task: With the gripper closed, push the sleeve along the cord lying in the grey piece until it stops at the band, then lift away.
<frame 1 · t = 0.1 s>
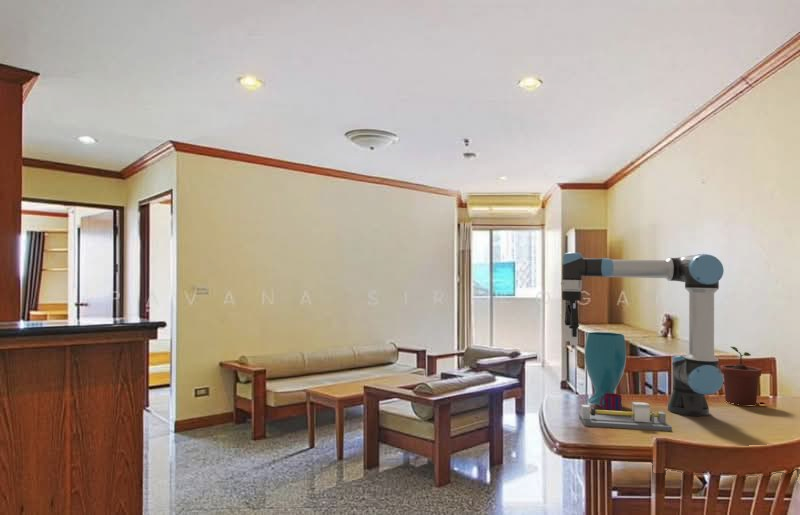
hand: (571, 343, 220), 28 cm above the table, fingers open, 13 cm apart
mug: (609, 412, 222), on the table
grey piece: (623, 424, 203), on the table
sleeve: (640, 411, 202), point 5 cm above the table, slide at 0.0 cm
potted plant: (743, 403, 245), on the table
vase: (604, 402, 239), on the table
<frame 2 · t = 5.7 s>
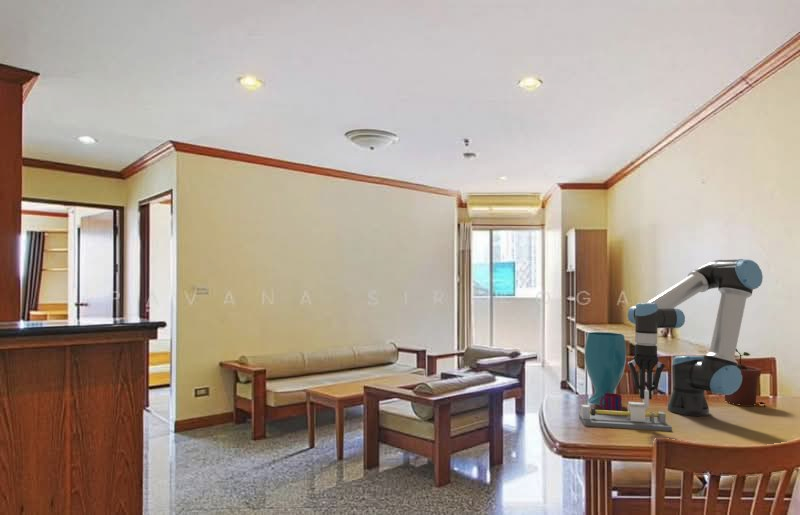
hand: (645, 407, 202), 7 cm above the table, fingers closed
sleeve: (636, 411, 203), point 5 cm above the table, slide at 1.5 cm, touching gripper
everything else where it was.
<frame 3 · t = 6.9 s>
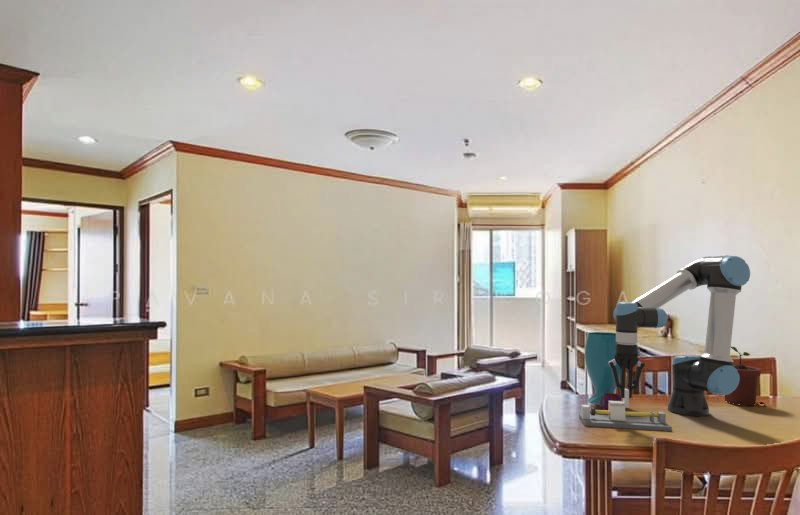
hand: (625, 406, 203), 7 cm above the table, fingers closed
sleeve: (616, 410, 204), point 5 cm above the table, slide at 8.5 cm, touching gripper
everything else where it was.
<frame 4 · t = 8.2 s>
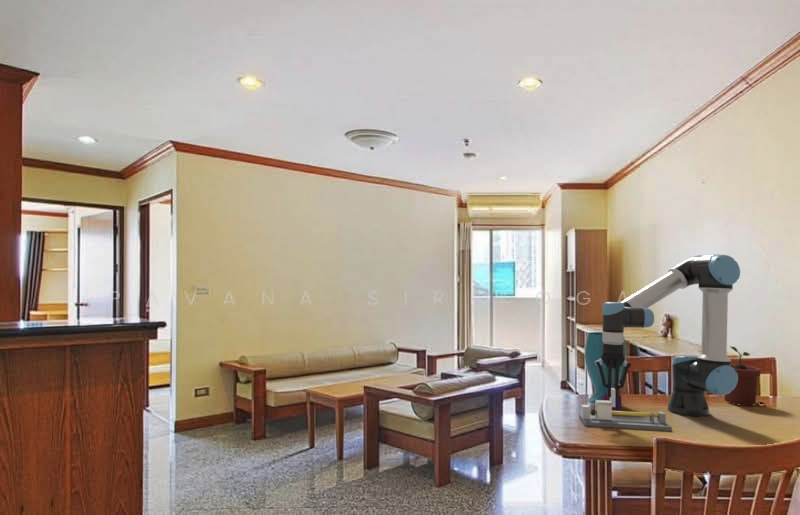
hand: (612, 406, 204), 6 cm above the table, fingers closed
sleeve: (603, 409, 204), point 5 cm above the table, slide at 13.3 cm, touching gripper
everything else where it was.
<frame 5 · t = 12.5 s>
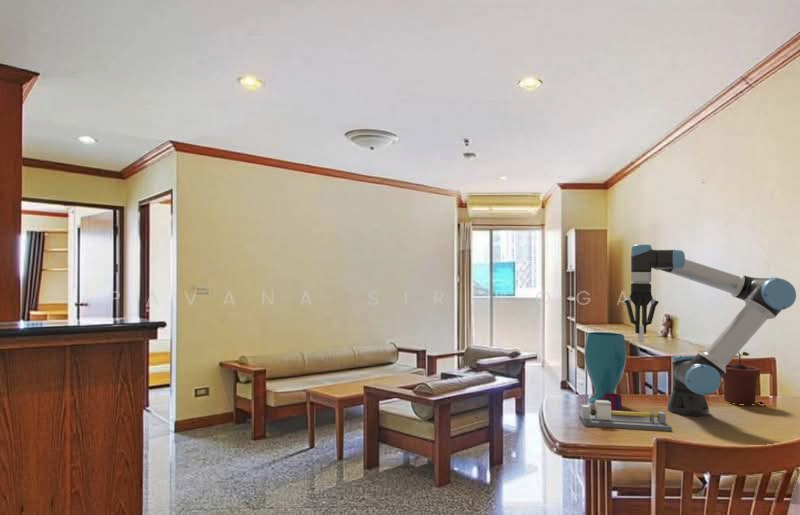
hand: (640, 341, 217), 29 cm above the table, fingers closed
sleeve: (602, 409, 204), point 5 cm above the table, slide at 13.5 cm
everything else where it was.
at the end: sleeve slide at 13.5 cm; the gripper is holding nothing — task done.
